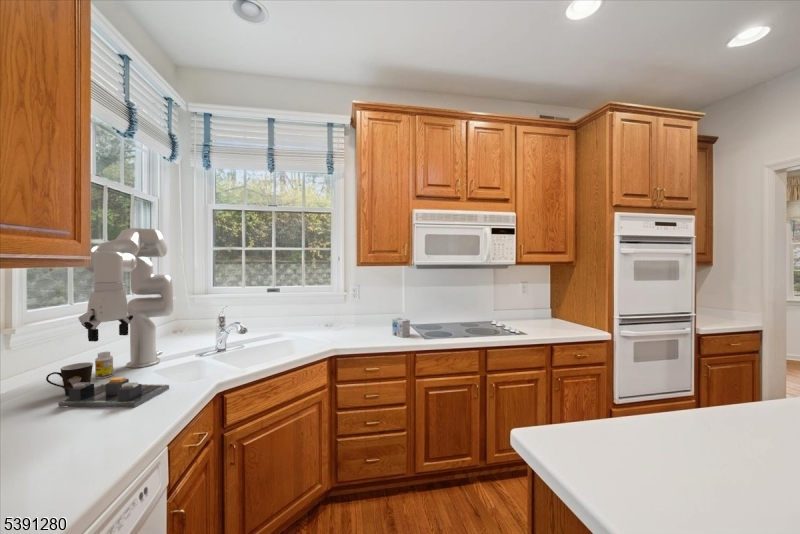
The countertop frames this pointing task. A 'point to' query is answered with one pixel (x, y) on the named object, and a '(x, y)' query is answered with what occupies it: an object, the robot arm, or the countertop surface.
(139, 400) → the panel
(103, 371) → the supplement bottle
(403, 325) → the light bulb box
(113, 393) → the block
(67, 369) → the coffee mug
